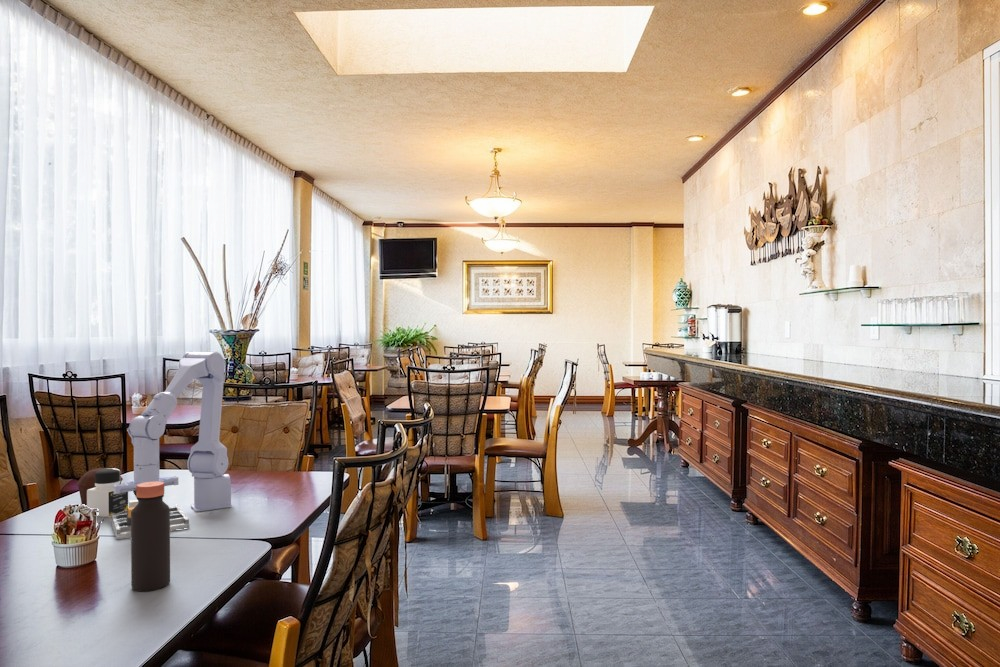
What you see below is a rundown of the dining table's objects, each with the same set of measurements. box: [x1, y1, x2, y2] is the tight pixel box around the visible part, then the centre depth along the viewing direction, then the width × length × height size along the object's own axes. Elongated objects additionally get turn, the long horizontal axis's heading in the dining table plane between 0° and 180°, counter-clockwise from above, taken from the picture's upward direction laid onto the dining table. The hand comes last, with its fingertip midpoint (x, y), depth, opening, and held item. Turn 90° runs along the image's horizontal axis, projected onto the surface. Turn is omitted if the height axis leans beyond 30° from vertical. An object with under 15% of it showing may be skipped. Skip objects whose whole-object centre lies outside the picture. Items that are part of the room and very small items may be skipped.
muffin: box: [76, 467, 124, 505], centre depth 196 cm, size 12×11×10 cm
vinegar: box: [130, 481, 171, 592], centre depth 134 cm, size 7×7×20 cm
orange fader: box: [127, 507, 135, 526], centre depth 169 cm, size 3×3×4 cm
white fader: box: [126, 499, 138, 516], centre depth 176 cm, size 3×3×4 cm
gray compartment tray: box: [110, 504, 190, 540], centre depth 175 cm, size 16×18×2 cm
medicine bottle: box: [87, 467, 129, 518], centre depth 186 cm, size 7×7×12 cm
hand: (146, 517), depth 171 cm, fingers closed
